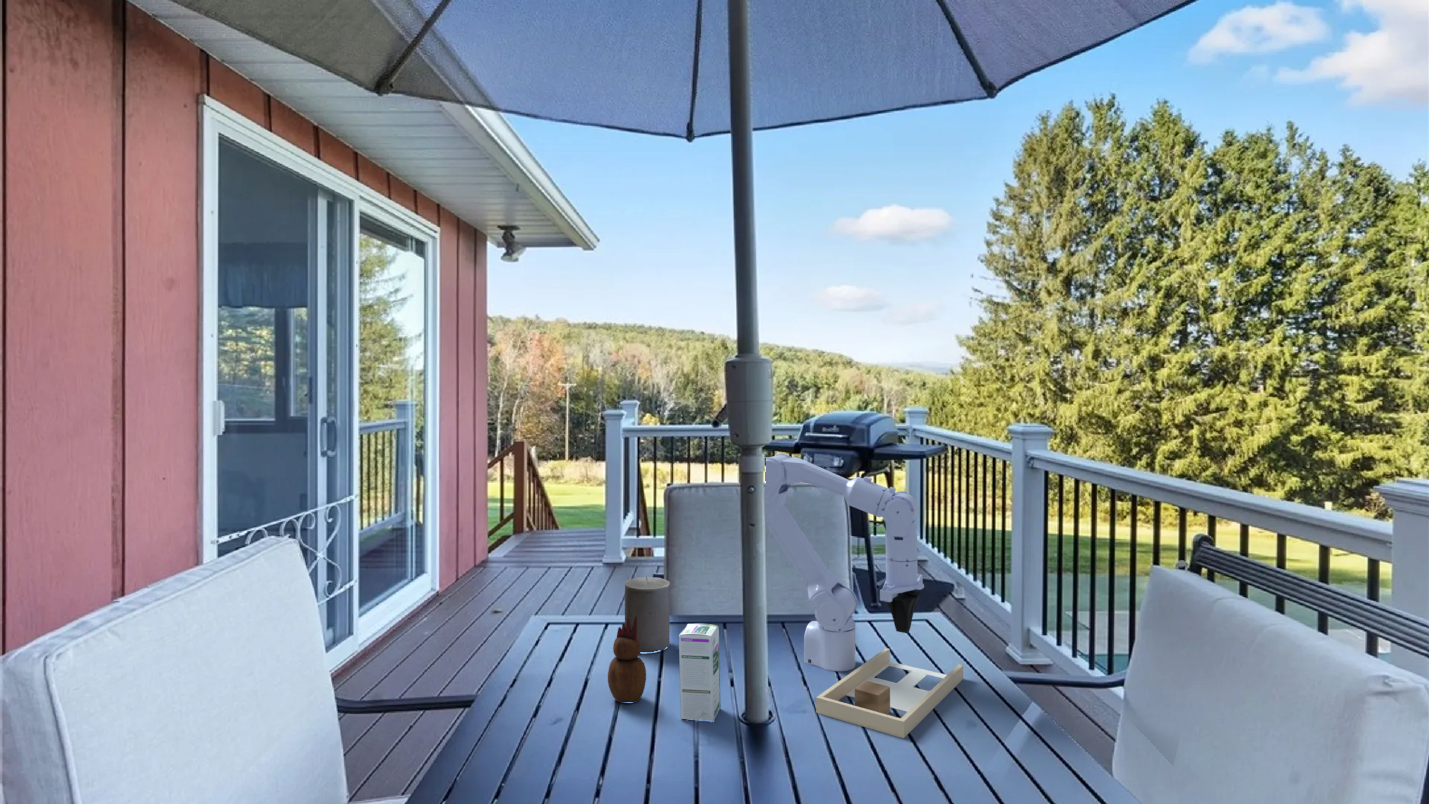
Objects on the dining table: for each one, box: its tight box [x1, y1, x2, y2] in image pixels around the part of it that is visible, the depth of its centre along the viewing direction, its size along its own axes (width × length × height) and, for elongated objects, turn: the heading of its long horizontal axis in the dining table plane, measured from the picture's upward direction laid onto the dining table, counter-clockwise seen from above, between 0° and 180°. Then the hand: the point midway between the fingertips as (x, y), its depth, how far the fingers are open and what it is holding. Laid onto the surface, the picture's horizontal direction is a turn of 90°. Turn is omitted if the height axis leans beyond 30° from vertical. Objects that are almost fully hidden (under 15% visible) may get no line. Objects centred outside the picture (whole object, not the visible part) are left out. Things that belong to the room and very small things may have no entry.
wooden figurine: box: [607, 616, 647, 703], centre depth 128 cm, size 7×6×15 cm
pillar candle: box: [624, 576, 671, 652], centre depth 155 cm, size 10×10×15 cm
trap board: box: [815, 647, 964, 739], centre depth 126 cm, size 15×28×4 cm, turn 143°
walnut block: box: [854, 681, 891, 715], centre depth 119 cm, size 4×4×4 cm
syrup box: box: [678, 623, 721, 721], centre depth 122 cm, size 6×6×14 cm
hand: (902, 631), depth 135 cm, fingers closed
